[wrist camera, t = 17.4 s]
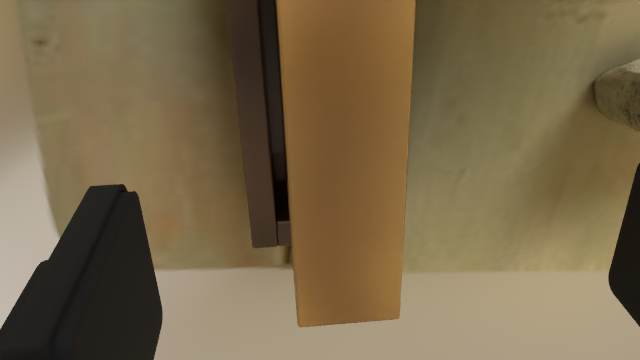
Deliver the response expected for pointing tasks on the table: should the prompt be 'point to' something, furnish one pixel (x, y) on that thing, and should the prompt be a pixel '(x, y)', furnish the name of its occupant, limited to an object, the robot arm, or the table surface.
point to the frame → (346, 152)
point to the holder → (261, 118)
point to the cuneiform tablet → (620, 94)
